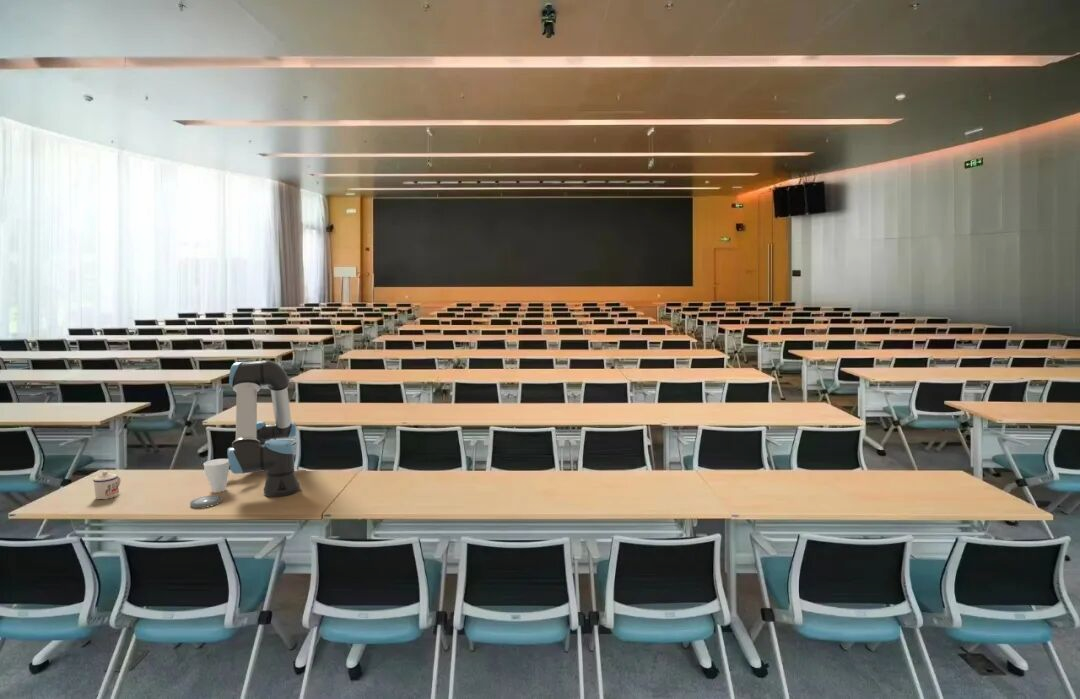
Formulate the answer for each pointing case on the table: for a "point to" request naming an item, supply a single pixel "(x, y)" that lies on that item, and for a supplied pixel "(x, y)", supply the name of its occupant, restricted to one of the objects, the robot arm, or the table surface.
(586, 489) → the table surface
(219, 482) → the cup
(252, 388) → the robot arm
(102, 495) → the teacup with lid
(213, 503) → the plate
